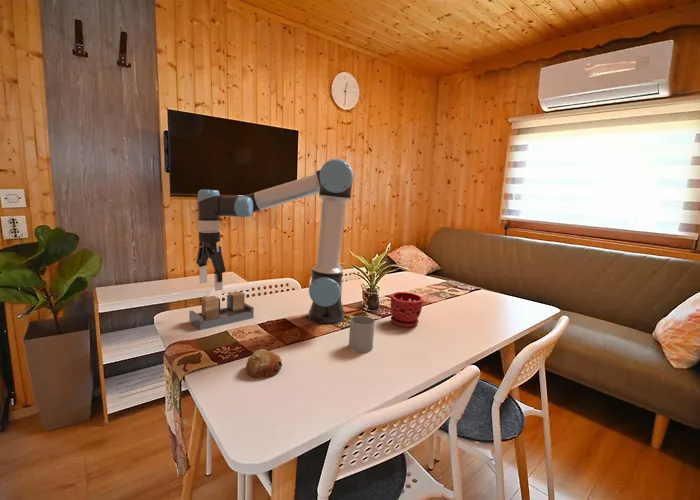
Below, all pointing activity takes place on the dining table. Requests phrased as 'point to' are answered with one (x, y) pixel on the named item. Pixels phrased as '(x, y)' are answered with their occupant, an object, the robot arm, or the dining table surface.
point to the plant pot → (405, 308)
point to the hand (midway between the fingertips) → (210, 286)
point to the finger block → (210, 307)
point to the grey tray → (225, 313)
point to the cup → (361, 334)
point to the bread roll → (263, 364)
